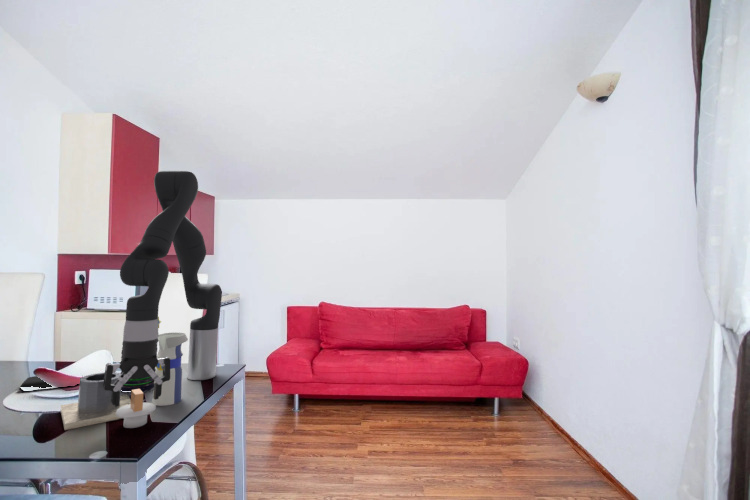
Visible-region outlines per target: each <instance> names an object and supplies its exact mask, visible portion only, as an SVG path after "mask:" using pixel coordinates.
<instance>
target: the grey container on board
mask: <svg viewBox="0 0 750 500" xmlns="http://www.w3.org/2000/svg"><path fill="white" fill-rule="evenodd" d="M120 373H121V372H115V373H112V380H111V384H114V383H115V382H116V381H117V379H118V377H119V376H120V375H121V374H120ZM104 375H105V371H103V372H97V373H91V374H88V375H84V376H82V378H80V383H79V384H78V387H79V388H78V401H77V402H73V403H66V404H61V405H60V414H61V420H62V424H63V429H64V431H68V430H73V429H77V428H78V429H79V428H84V427H87V426H88V427H89V426H92V425H96V424H102V423H106V422H112V421H118V420H121V419H123V418H119V417H117V416H116V410H117V409H119V408H120V407H123V406H125V405H129V404H131V397H130V396H129V395H128V393H124V394H122V392H121V388H120V389H119V391H120V400H119V406H118V407H115V406H114V405H113V404H112V402H111V398H112V391H110V390H107V391H106V390H105V389H104V388H103V382H104Z"/></svg>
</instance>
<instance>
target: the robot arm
mask: <svg viewBox="0 0 750 500" xmlns="http://www.w3.org/2000/svg"><path fill="white" fill-rule="evenodd" d="M153 180H154V181H153V184H154V186H153V187H154V189H155V190H154V191H155V194H156V196H157V199H158V202H159V204H160V208H161V209H162V211H161V212H159V214H157V215H156V216H155V217H154V218H152V220H151V221H150V222H149V224H148V225H147V227H146V228H145V231H144V233H143V236H142V238H141V241H140V243H138V245H137V246H136V247H135V248H134V249H133V250H132V252H131V253H130V254H129V255H128V256H127V257H126V259H125V260H124V261H123V263H122V264H121V266H120V271H119V276H120V280H121V282H122V283H123V284H124V285H125V286H128V287H129V286H130V287H147V289H146V292H145V293H143V294H140V295H138V294H137V295H134V296H131V297H129V298H128V299H127V302H126V309H125V322H124V327H123V334H122V335H123V337H122V343H123V345H122V347H123V349H122V348H121V352H122V354H121V357H122V360H121V359H120V363H110V362H108V363H106V364H105V368H104V372H105V375H104V382H103V388H104V389H105V390H106V391H107V390H110V391H112V398H111V402H112V404H113V405H114V406H115V407H118V406H119V400H120V391H119V389H120V388H121V387H122V386H123V384H125V383H126V382H127V381H128V379H132V380H133V379H137V378H146V377H147V376H148V375H150V376H151V377H152V378H153V379H154V381H155V383H154V388H153V391H154V394H153V393H152V398H153V397H154V399H158V397H159V396H161V390H162V383H163V382H165V381H169V380H170V358H168V357H167V356H164V357H163V358H160V359H158V358H157V354H158V343H159V341H158V335H159V334H160V333H159V328H158V316H159V308H160V307H159V306H160V301H161V298H162V294H163V290H164V288H165V286H166V284H167V281H168V277H169V273H170V272H169V266H168V264H167V263H166V262H165V261H164V260H162V259H163V258H165V257H166V256H167V255H168V254H169V252H170V249H171V247H172V244H173V248H174V251H175V254H176V258H177V261H178V265H179V268H180V272H181V277H182V281H183V287H184V293H185V298H186V302H187V304H188V306H189V307H190V308H191V309H194V310H206V311H205V314H204V315H203V316H200V317H198V318H194V319H192V320H191V321H190V324H189V345H188V360H187V375H186V378H187V379H188V380H190V381H191V380H192V381H205V380H209V379H213V378H215V377H216V374H217V373H216V372H217V371H216V370H217V358H218V357H217V355H218V354H217V353H218V339H219V337H218V334H219V322H220V318H221V317H220V316H221V306H222V297H223V296H222V295H223V294H222V293H223V291H222V288H221V286H220V284H216V283H200V281H199V278H198V277H199V276H198V272H199V270H200V268H201V266H202V265H203V262H204V261H205V259H206V255H207V247H206V244H205V240H204V236H203V234H202V232H201V231H200V229H199V228H198V227H197V226H196V225H195V224H194V223H193V222H192V221H191V220H190V219H189V218H188V217H187V216H186V215H187V214H188V212H189V210H190V208H191V207H192V205H193V204H194V202H195V200H196V198H197V195H198V191H199V182H198V179H197V177H196V175H195V174H194V172H192V171H187V170H160V171H157V172H156V173H155V175H154V179H153ZM158 363H160V365H161V366H163V376H161V377H159V376H158V375H157V374H156V373H155V372H154V371H153V370H154V368H155V369H156V366H157V364H158ZM118 369H119V370H120V372H121V371H122V372H123V373H122V374H121V375H120V376H119V377H118V379H117V381H116V382H115V383H114V384H111V380H112V373H117V370H118ZM123 375H124V376H123Z"/></svg>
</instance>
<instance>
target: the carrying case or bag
mask: <svg viewBox="0 0 750 500" xmlns="http://www.w3.org/2000/svg"><path fill="white" fill-rule="evenodd" d="M37 376H38V375H35V376H34V375H33V376H30V377H29V376H28V377H27V378H26V379H25V380H24V381H23V382H22V384H21V385H20V386H19V390H20V391H22V392H24V391H23V390H21V388H20V387H31V386H33V387H39V388H40V387H41V388H46V387H52V386H51V385H49V384H47V383H46V382H44V381H43V380H41V379H40V378H38V377H37ZM24 393H25V392H24Z"/></svg>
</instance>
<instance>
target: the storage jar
mask: <svg viewBox="0 0 750 500" xmlns="http://www.w3.org/2000/svg"><path fill="white" fill-rule="evenodd" d="M122 349H123V342H122V348H121V350H122ZM121 355H122V351H121ZM120 358H121V359H120V361H121V360H122V356H121V357H120ZM153 371H154V372H155V371H156V367H155V368H154V370H153ZM119 373H120V374H122V373H123V372H122V371H121V370H120V372H119ZM123 376H124V375H123ZM134 389H140V390H141V391H142V392H143V393H144V392H148V391H150V390H154V379H153V378H152V377H151V376H150V375H148V376H147V377H146V378H137V379H133V380H132V379H128V381H127V382H126V383H125V384H123V386H122V387H121V390H122V391H131V390H134Z"/></svg>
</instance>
